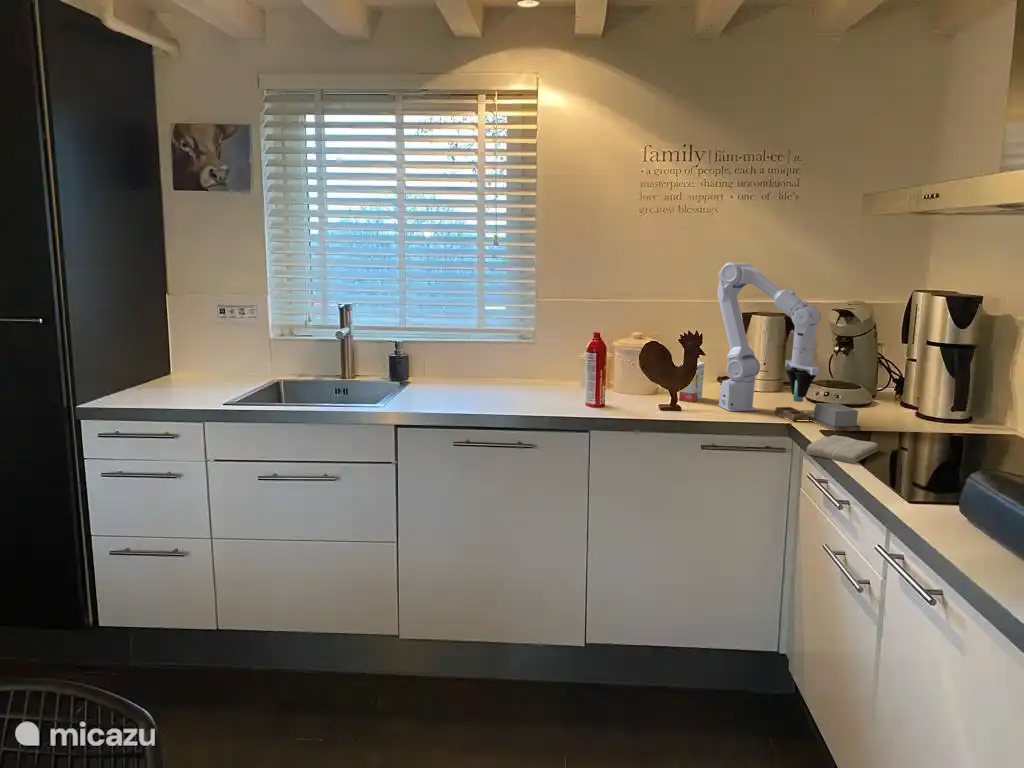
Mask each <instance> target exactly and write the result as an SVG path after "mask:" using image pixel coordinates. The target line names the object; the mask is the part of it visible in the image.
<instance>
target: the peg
mask: <svg viewBox="0 0 1024 768" xmlns="http://www.w3.org/2000/svg"><path fill="white" fill-rule="evenodd" d="M792 401H794V402H796V403H803V402H804V397H798V394H797V380H795V389H794V395H793V399H792Z"/></svg>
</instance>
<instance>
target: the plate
mask: <svg viewBox="0 0 1024 768" xmlns="http://www.w3.org/2000/svg"><path fill="white" fill-rule="evenodd" d="M813 409H814V410H813ZM813 409H807V410H806V409H805V410H803V409H802V410H799V411H801V412H804V413H806V414H809V419H810V420H812V421H814V422H816V423H818V424H820V425H823V426H825V427H827V428H829V429H828V430H830V429H831V430H830V431H832V430H833V431H832V432H860V431H861V427H862V426H861V425H858V424H857V426H851V427H835V426H833V425H830V424H828V423H826V422H823V421H821V420H818V419H816V418H814V414H815V407H813ZM816 423H815V424H816ZM818 424H817V425H818ZM820 425H819V426H820ZM823 426H822V427H823ZM825 427H824V428H825ZM827 428H826V429H827Z"/></svg>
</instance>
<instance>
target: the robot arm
mask: <svg viewBox="0 0 1024 768" xmlns="http://www.w3.org/2000/svg"><path fill="white" fill-rule="evenodd" d="M717 275H718V279H719V281H718V285H717V286H718V287H717V292H716V293H717V294H716V295H717V299H718V303H719V308H720V312H721V317H722V321H723V325H724V329H725V334H726V338H727V342H728V346H729V352H728V353H727V356H726V360H727V361H726V362H727V366H726V373H727V375H728V377H729V379H724V380H722V382H721V383H720V389H719V391H720V392H719V401H718V402H719V403H718V404H717V406H718V407H720V408H723V409H724V410H726V411H728V412H742V411H743V412H744V411H745V412H752V411H753V412H754V411H756V412H757V411H758V410H759V409H758V408H756V407H754V405H753V404H754V392H755V382H756V376H757V375H759V373H760V371H761V364H760V360H758V358H757V357H756V355H755V351H754V350H753V349H752V348H751V347H750V346H749V342H748V338H747V334H746V330H745V325H744V323H743V322H744V321H743V317H742V313H741V308H740V305H739V301H738V295H739V293H740V292H741V291H742V289H743V288H744V287H746V286H747V285H753V286H754V287H756V288H757V289H759V290H760V291H761V292H762V293H765V294H766V295H767V296H769V298H772V299H773V304H774V306H775V307H776V308H778V309H779V310H780V311H781V312H783V313H784V314H785V315H786V316H788V317H789V318H790V319H791V322H792V324H793V325H794V332H793V342H792V343H793V344H792V352H791V359H785V361H784V362H785V364H784V367H785V368H790V369H786V370H785V372H786V374H787V377H788V381H789V384H790V389H791V395H793V396H794V389H795V380H797V394H798V397H803V398H806V396H807V394H808V391H809V389H810V386H811V384H812V382H813V381H814V380H815V378H816V377H817V376H819V374H820V373H819V371H820V368H819V367H817V365H816V364H815V363H813V362H814V352H815V343H816V335H817V334H816V333H817V324H819V323H820V321H821V319H822V314H821V311H820V310H819V308H818V307H817V306H816V305H812V304H811V305H809V303H808V302H807V300H803V299H801V298H800V297H798V296H797V295H796V292H795V290H792V289H790V290H789V289H781V288H780V287H779V286H778V285H777V284H775V283H774V282H773V281H772V280H771V279H770V278H769V277H767V276H766V275H764V273H762V272H761V271H760V270H759V269H758V268H757V267H756V266H753V264H751V263H750V262H747V261H746V262H731V261H730V262H726V263H725V264H723V266H722V267H721V269H720V270H719V272H718V273H717Z"/></svg>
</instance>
